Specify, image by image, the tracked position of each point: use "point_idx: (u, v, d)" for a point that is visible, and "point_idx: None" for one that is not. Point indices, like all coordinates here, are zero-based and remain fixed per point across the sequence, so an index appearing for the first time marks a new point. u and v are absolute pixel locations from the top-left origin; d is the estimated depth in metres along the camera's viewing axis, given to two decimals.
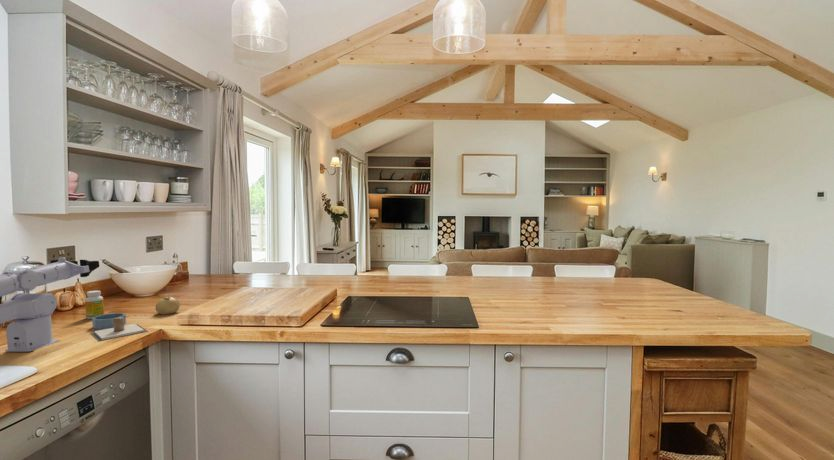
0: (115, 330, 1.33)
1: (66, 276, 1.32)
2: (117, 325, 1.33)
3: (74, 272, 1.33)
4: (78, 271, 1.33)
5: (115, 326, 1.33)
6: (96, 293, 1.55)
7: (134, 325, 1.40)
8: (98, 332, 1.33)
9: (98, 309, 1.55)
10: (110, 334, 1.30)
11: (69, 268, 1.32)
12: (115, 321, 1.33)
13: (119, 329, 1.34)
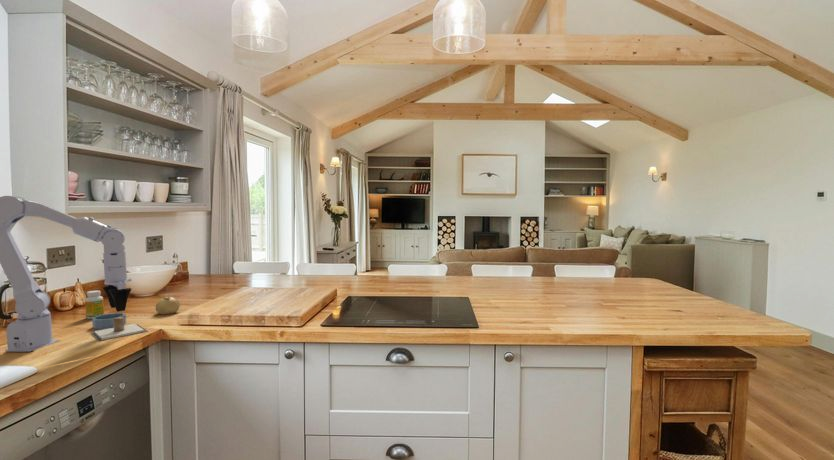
0: (115, 330, 1.33)
1: (110, 278, 1.31)
2: (117, 325, 1.33)
3: None
4: None
5: (115, 326, 1.33)
6: (96, 293, 1.55)
7: (134, 325, 1.40)
8: (98, 332, 1.33)
9: (98, 309, 1.55)
10: (110, 334, 1.30)
11: (120, 279, 1.32)
12: (115, 321, 1.33)
13: (119, 329, 1.34)
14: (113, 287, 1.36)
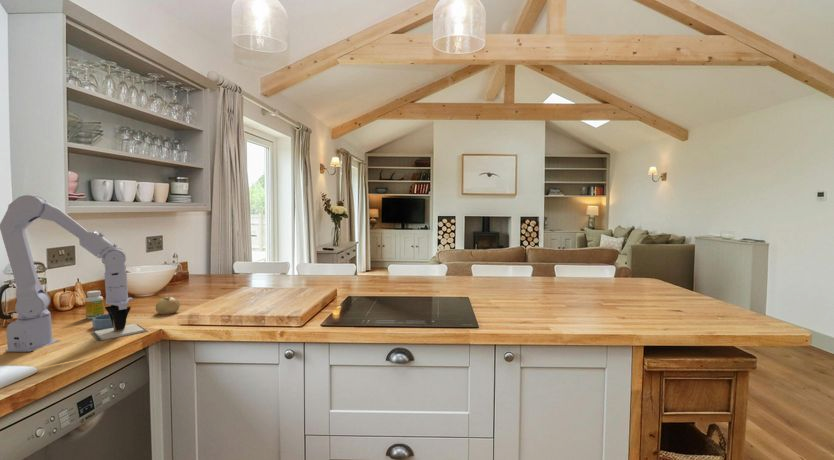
0: (115, 330, 1.33)
1: (111, 298, 1.31)
2: None
3: None
4: None
5: None
6: (96, 293, 1.55)
7: (134, 325, 1.40)
8: (98, 332, 1.33)
9: (98, 309, 1.55)
10: (110, 334, 1.30)
11: (121, 299, 1.33)
12: None
13: None
14: (116, 307, 1.35)
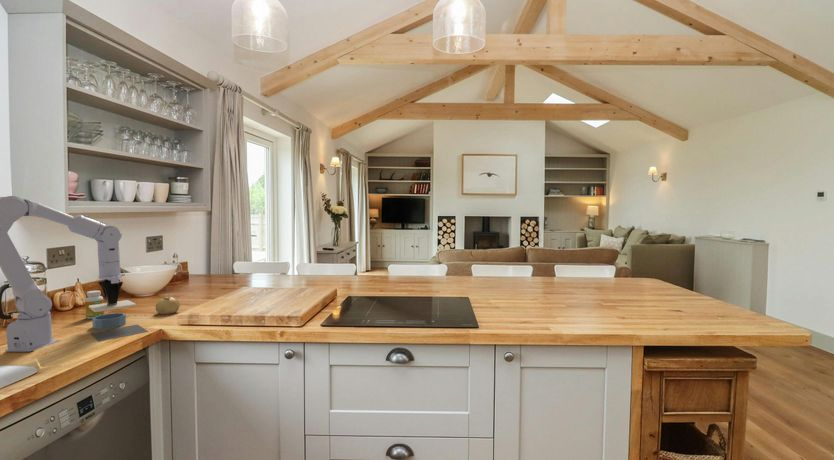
0: (108, 304, 1.38)
1: (104, 272, 1.36)
2: None
3: None
4: (111, 277, 1.35)
5: None
6: (96, 293, 1.55)
7: (127, 301, 1.45)
8: (92, 306, 1.38)
9: None
10: (103, 307, 1.36)
11: (114, 274, 1.38)
12: None
13: None
14: None
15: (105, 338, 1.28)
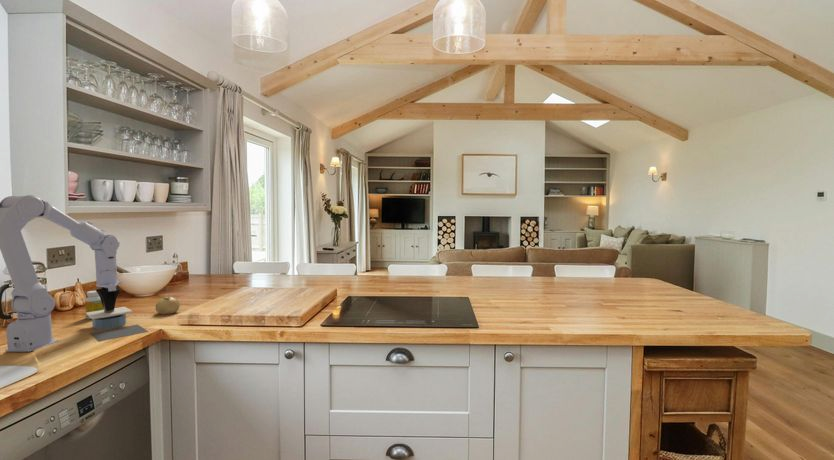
0: (105, 311, 1.42)
1: (101, 280, 1.40)
2: None
3: None
4: (108, 285, 1.39)
5: None
6: (96, 293, 1.55)
7: (124, 307, 1.49)
8: (89, 313, 1.42)
9: (98, 309, 1.55)
10: (100, 314, 1.39)
11: (111, 282, 1.41)
12: None
13: None
14: (106, 290, 1.44)
15: (105, 338, 1.28)
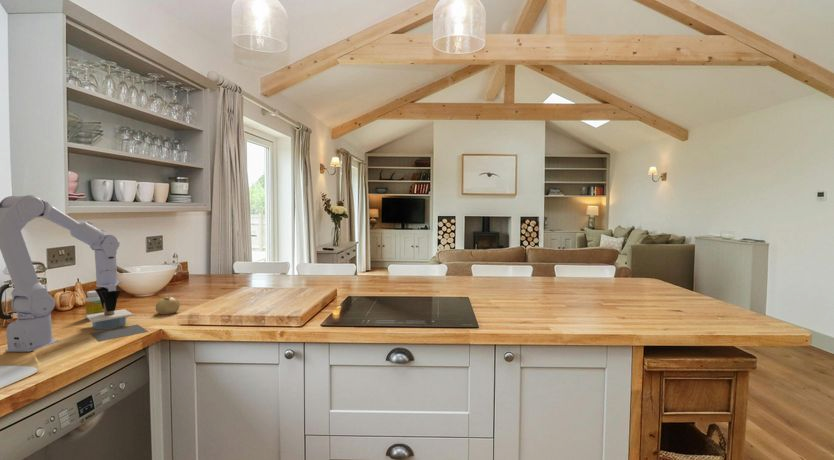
0: (105, 314, 1.42)
1: (101, 280, 1.40)
2: None
3: None
4: (108, 285, 1.39)
5: (105, 310, 1.42)
6: (96, 293, 1.55)
7: (124, 310, 1.49)
8: (89, 316, 1.42)
9: (98, 309, 1.55)
10: (101, 317, 1.39)
11: (111, 282, 1.41)
12: None
13: (109, 313, 1.42)
14: (105, 289, 1.45)
15: (105, 338, 1.28)
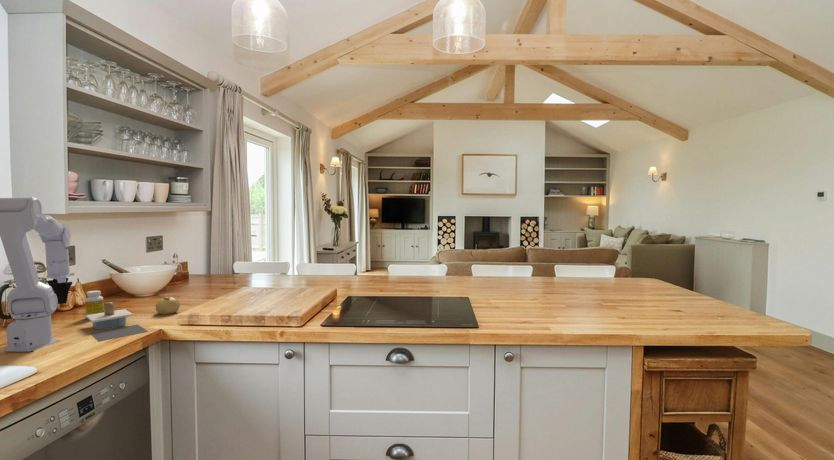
0: (105, 314, 1.42)
1: (52, 272, 1.37)
2: (107, 309, 1.42)
3: None
4: (58, 277, 1.36)
5: (105, 310, 1.42)
6: (96, 293, 1.55)
7: (124, 310, 1.49)
8: (89, 316, 1.42)
9: (98, 309, 1.55)
10: (101, 317, 1.39)
11: (62, 273, 1.38)
12: (105, 305, 1.42)
13: (109, 313, 1.42)
14: (57, 281, 1.42)
15: (105, 338, 1.28)
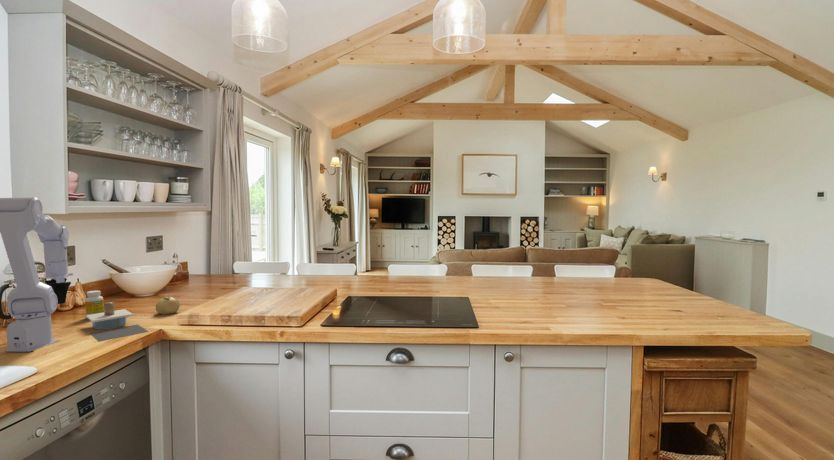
0: (105, 314, 1.42)
1: (50, 272, 1.37)
2: (107, 309, 1.42)
3: None
4: (57, 277, 1.36)
5: (105, 310, 1.42)
6: (96, 293, 1.55)
7: (124, 310, 1.49)
8: (89, 316, 1.42)
9: (98, 309, 1.55)
10: (101, 317, 1.39)
11: (60, 274, 1.38)
12: (105, 305, 1.42)
13: (109, 313, 1.42)
14: (55, 281, 1.42)
15: (105, 338, 1.28)
